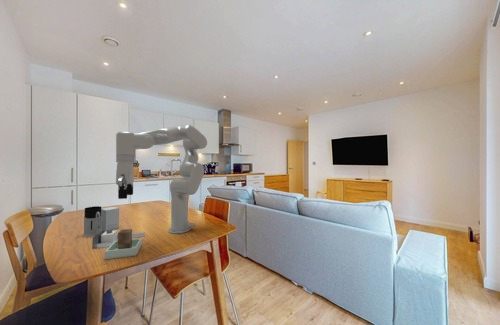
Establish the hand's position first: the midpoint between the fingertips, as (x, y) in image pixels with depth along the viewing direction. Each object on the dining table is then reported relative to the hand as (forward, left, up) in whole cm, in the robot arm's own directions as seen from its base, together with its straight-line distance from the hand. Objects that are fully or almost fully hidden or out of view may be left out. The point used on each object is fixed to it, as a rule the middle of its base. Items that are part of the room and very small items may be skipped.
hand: (126, 196), depth 89 cm
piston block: (+11, -14, -25) cm, 30 cm away
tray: (0, 0, -25) cm, 25 cm away
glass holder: (+23, -29, -25) cm, 44 cm away
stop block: (0, 0, -25) cm, 25 cm away
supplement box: (+19, -39, -25) cm, 50 cm away
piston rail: (+6, -14, -25) cm, 29 cm away
